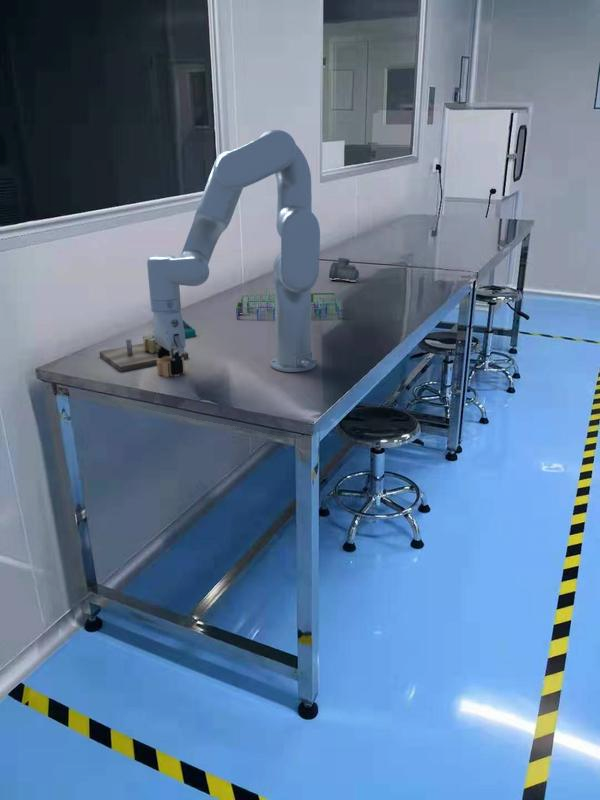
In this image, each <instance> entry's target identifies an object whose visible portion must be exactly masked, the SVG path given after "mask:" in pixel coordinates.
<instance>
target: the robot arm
mask: <svg viewBox="0 0 600 800" xmlns="http://www.w3.org/2000/svg"><path fill="white" fill-rule="evenodd" d="M213 163H214V164H213V166H212V169H211V171H210V174H209V176H208V179H207V182H206V184H205V187H204V191H203V193H202V196H201V198H200V201H199V204H198V206H197V208H196V211H195V215H194V218H193V221H192V223H191V228H190V229H189V232H188V235H187V237H186V240H185V242H184V245H183V248H182V250H181V254H180V257H175V256H174V255H172V254H155V255H151V256H150V257H149V258H148V259H147V262H146V263H147V265H146V267H147V277H148V279H147V280H148V289H149V290H148V291H149V299H150V310H151V312H152V324H153V326H152V327H153V334H154V338H155V342H156V344H157V352H158V358H162V357H163V356H170V355H171V359H172V360H170V364H171V374H172V375H177V374H180V375H183V374H182V373H183V360H182V359H183V352H184V351H185V348H186V338H185V333H184V326H183V320H184V319H183V317H182V312H181V310H182V306H181V305H182V303H181V302H182V301H181V291H180V286H186V287H198V286H202V285H203V284H205V283H206V282H207V280H208V279H209V276H210V268H209V263H210V261H211V258H212V255H213V253H214V249H215V247H216V245H217V244H218V240H219V239H220V237H221V235H222V233H223V232H225V231H226V229H227V228H228V227H229V224H230V223H231V221H232V217H233V215H234V212H235V210H236V207H237V204H238V202H239V199H240V196H241V195H242V192H243V189H244V188H246V187H248V186H251V185H254V184H256V183H258V182H260V181H262V180H265V179H267V178H268V177H271V176H272V175H274V174H275V179H276V183H277V184H276V185H277V186H276V187H277V188H276V189H277V206H276V207H277V213H276V214H277V215H276V231H277V233H278V235H279V237H280V241H281V242H280V252H278V254H277V256H276V258H274V262H273V282H274V295H275V296H274V301H275V304H274V307H276V308H274V309H275V310H274V313H275V314H274V317H275V357H273V358H272V359H271V360H270V367H271V368H273V369H274V370H276V371H279V372H280V371H281V372H287V373H301V372H307V371H310V370H313V369H315V368H316V366H317V362H318V361H317V359H315V358H314V357H313V352H312V350H311V349H312V346H311V345H312V327H311V326H312V309H311V307H312V305H311V293H312V288H313V287H314V286H315V285H316V283H317V280H318V277H319V269H320V255H321V254H320V253H321V252H320V249H321V248H320V247H321V229H320V223H319V221H318V219H317V217H316V215H315V214H314V213H313V212H312V210H313V209H312V176H311V174H312V173H311V169H310V165H309V163H308V160H307V158H306V156H305V154H304V153H303V151H302V150H301V149H300V147H299V146H298V145H297V143H296V141H295V139H294V138H293V136H292V135H291V134H290V133H288V132H286V131H284V130H280V129H270V130H269V129H268V130H266V131H265V132H263V133H262V134H261V135H260V136H259V137H258V138H257V139H255V140H252V141H250V142H248V143H247V144H244V145H241V146H240V147H237V148H235V149H232V150H226V151H223V152H221V153H219V155H218V156H217V157H216V159H215V160H214V162H213ZM182 319H183V320H182ZM173 346H176V347H177V348H172V347H173ZM167 350H168V351H167ZM173 351H177V352H176V353H175V355H174V353H173Z"/></svg>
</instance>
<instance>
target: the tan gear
mask: <svg viewBox="0 0 600 800" xmlns="http://www.w3.org/2000/svg"><path fill="white" fill-rule="evenodd" d="M170 360H172V359H171V356H163V357H162V358H158V359H157V365H156V368H157V369H156V372H157V375H158V377H159V376H163V377H164V378H169V377H174V378H176V377H179V376H180V375H184V374H185V373H186V371H185V370H186V369H185V359H184V358H183V359H182V360H183V373H182V374H177V375H172V374H171V364H170Z"/></svg>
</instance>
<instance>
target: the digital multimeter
mask: <svg viewBox="0 0 600 800" xmlns="http://www.w3.org/2000/svg"><path fill="white" fill-rule="evenodd" d="M182 320H183V326H184V333H185V339H187V338H193V337H196V336H197V335H196V330H195V328H193V327H192V326H191V325H189V324H188V323H187V322H186V321H185V320H184V319H183V318H182Z"/></svg>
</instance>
